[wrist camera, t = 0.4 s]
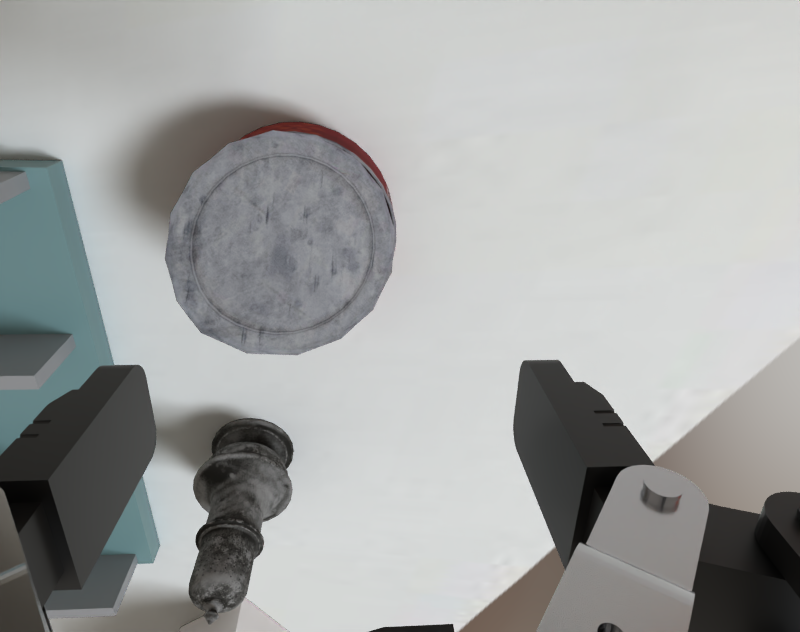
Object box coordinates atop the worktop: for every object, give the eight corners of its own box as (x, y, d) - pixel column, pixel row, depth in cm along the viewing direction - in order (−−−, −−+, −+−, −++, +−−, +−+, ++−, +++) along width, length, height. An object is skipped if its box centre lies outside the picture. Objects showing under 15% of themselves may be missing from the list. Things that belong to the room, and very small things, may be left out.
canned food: (222, 166, 33) (109, 111, 23) (388, 127, 31) (344, 50, 21) (257, 355, 33) (160, 382, 23) (424, 326, 31) (397, 341, 21)
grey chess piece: (285, 490, 39) (256, 668, 28) (199, 472, 37) (135, 651, 27) (308, 426, 36) (286, 595, 25) (217, 405, 35) (154, 573, 24)
